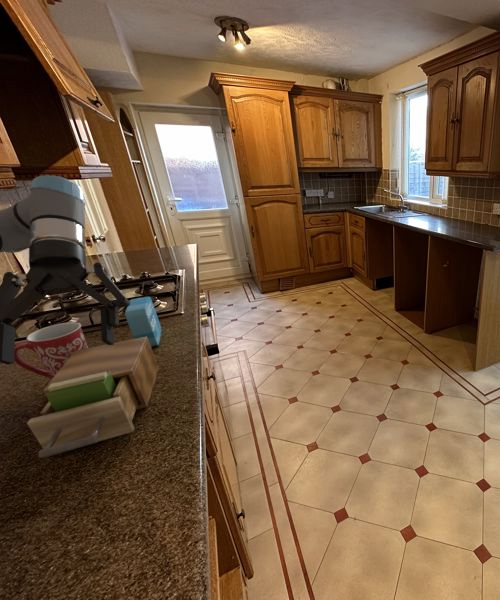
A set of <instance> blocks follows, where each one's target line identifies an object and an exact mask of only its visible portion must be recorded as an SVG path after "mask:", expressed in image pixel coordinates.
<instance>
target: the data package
mask: <svg viewBox="0 0 500 600" xmlns="http://www.w3.org/2000/svg"><path fill="white" fill-rule="evenodd" d="M129 302H130V305H129V306H128V307H126V309H125V311H124V316H125V319H126V322H127V324H128V327H129V329H130V332H131V334H132V336H133V339H137V338H142V337H147V338H148V341H149V343H150V346H151V348H154V347H157V346H159V345H160V341H161V337H162V332H163V331H162V325H161V322H160V320H159V318H158V314H157V312H156V308H155V306H154V303H153V300H152V298H151V297H150V296H144V297H138V298H132V299H130V301H129Z"/></svg>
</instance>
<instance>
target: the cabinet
mask: <svg viewBox="0 0 500 600" xmlns="http://www.w3.org/2000/svg"><path fill="white" fill-rule="evenodd" d="M109 371H110V373H111V375H112V377H113V378H117V377H121V376H125V375H129V377H130V380H131V382H132V384H133V387H134V389H135V391H136V394H137V396H138V398H139V403H138V406H137V408H136V411H137V410H141V409H144V408H148V405H149V402H150V399H151V396H152V394H153V390H154V387H155V384H156V381H157V377H158V374H159V371H160V367H159V364H158V361H157V359H156V356H155V354H154V351H153V347H151V346H150V343H149V341H148V338H147V337H142V338H137V339H134V338H132V339H128V340H126V339H125V340H122V341H117V342H114V345H107V344H106V343H105V344H101V345H96V346H90V347H88V348H85V349H80V350H75V351H74V352H73V354H72V355H71V356H70V357H69V359H68V360H67V361H66V362H65V364H64V365H63V366H62V367H61V369H60V370H59V371H58V372H57V374H56V375H55V376H54V378H53V379H52V378H51V380H50V381H49V382H48V383H47V385H46V386H45V388H43V390H42V392H43V393H44V395H45V397H46V398H47V395H48V393H49V392H50V391H49V390H48V387H49V386H50V385H51V384H53V383H57V382H62V381H66V380H71V379H75V378H80V377H84V376H89V375H93V374H98V373H102V372H109Z"/></svg>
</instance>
